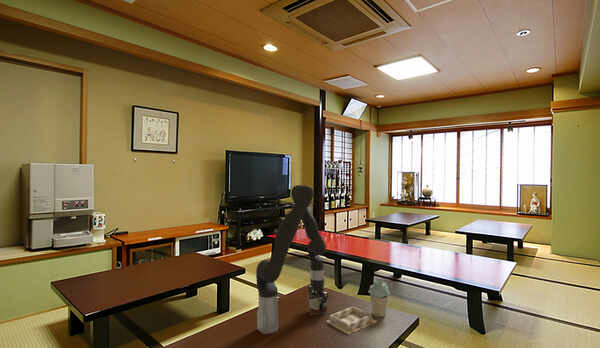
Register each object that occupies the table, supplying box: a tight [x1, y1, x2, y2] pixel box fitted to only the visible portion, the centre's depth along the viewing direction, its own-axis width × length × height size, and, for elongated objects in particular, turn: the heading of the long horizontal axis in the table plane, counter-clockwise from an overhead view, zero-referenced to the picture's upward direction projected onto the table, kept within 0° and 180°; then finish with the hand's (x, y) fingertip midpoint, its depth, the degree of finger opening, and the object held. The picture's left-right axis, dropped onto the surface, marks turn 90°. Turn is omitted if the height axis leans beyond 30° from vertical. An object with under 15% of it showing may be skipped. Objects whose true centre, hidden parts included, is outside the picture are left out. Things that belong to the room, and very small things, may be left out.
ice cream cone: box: [368, 277, 391, 317], centre depth 168 cm, size 10×11×20 cm
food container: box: [306, 292, 330, 316], centre depth 172 cm, size 12×6×10 cm, turn 105°
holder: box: [325, 306, 378, 335], centre depth 159 cm, size 20×16×4 cm
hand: (317, 307), depth 171 cm, fingers closed on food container, 6 cm apart
